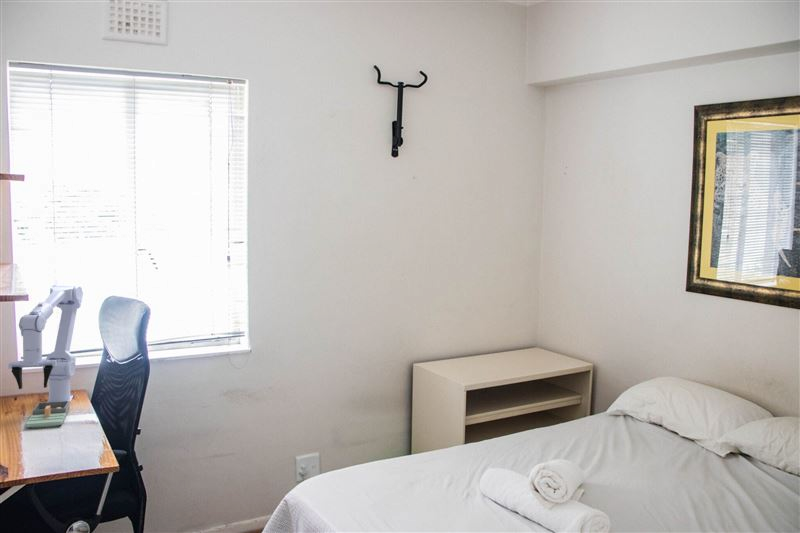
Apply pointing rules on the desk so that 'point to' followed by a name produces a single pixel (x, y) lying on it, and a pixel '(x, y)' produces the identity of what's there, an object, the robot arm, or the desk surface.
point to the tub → (52, 407)
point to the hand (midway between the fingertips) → (33, 387)
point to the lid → (46, 419)
